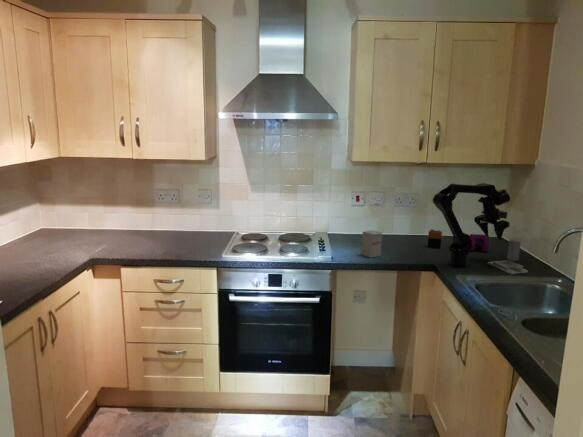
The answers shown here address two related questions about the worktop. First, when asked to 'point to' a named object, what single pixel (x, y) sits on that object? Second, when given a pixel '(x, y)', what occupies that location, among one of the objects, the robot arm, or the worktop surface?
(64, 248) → the worktop surface
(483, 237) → the mounting bracket
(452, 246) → the robot arm
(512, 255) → the grey rectangular block
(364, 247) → the pinkish brown cylinder
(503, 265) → the grey tray
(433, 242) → the battery
